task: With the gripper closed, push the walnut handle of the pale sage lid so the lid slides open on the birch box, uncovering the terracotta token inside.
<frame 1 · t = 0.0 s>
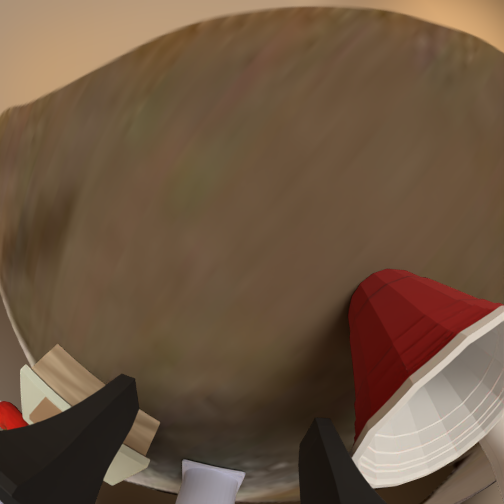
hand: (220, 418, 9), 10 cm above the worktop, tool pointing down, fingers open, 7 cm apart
storage box: (93, 408, 25), on the worktop
pouch: (502, 383, 20), on the worktop
lid: (66, 447, 18), point 7 cm above the worktop, slide at 0.0 cm
tomato: (21, 415, 32), on the worktop
plastic cup: (386, 303, 18), on the worktop
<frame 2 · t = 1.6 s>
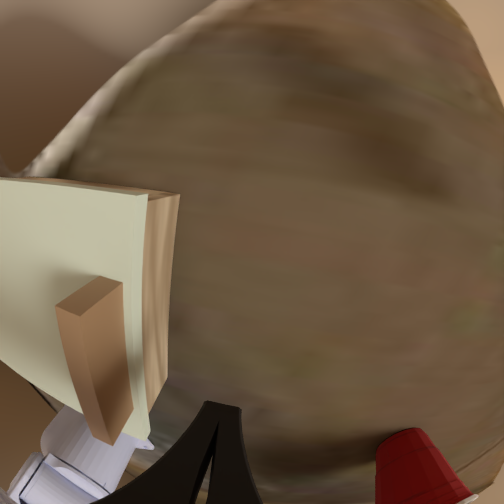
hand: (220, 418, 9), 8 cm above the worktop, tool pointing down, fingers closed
storage box: (86, 277, 17), on the worktop
lid: (19, 321, 10), point 7 cm above the worktop, slide at 0.0 cm
plastic cup: (400, 442, 20), on the worktop
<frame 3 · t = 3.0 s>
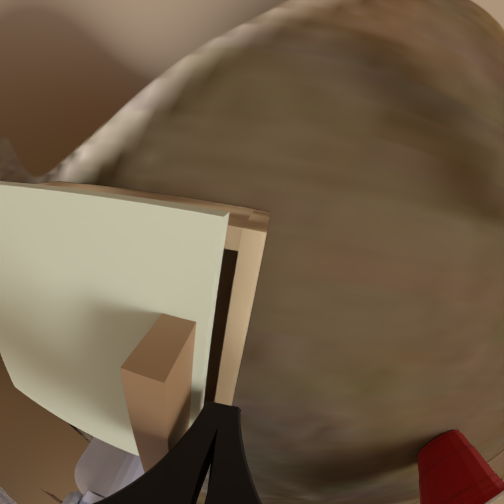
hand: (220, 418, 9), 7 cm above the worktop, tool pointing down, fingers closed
storage box: (137, 303, 16), on the worktop
lid: (44, 359, 9), point 7 cm above the worktop, slide at 1.8 cm, touching gripper
plastic cup: (438, 444, 19), on the worktop
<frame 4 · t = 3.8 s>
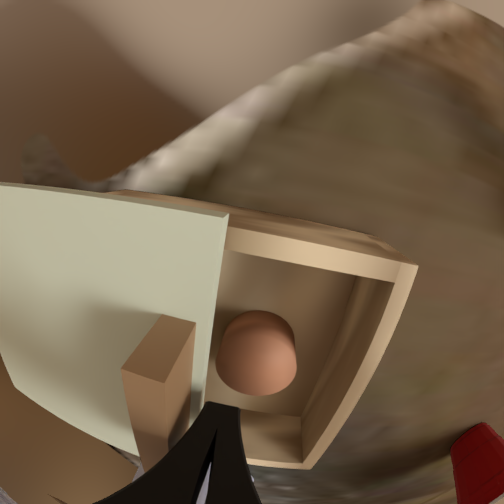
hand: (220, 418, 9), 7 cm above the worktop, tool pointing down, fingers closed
storage box: (226, 326, 16), on the worktop
lid: (44, 359, 9), point 7 cm above the worktop, slide at 7.6 cm, touching gripper
plastic cup: (468, 437, 19), on the worktop
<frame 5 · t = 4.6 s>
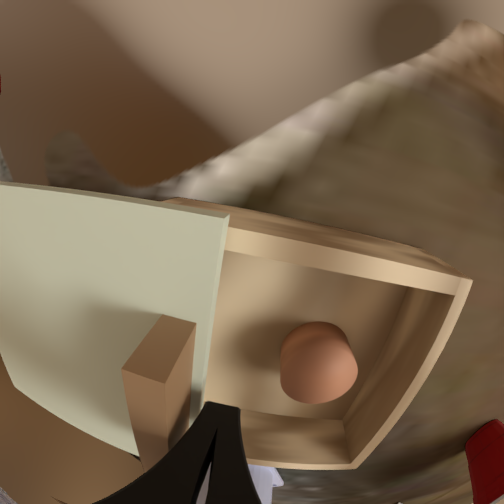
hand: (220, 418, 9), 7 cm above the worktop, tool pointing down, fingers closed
storage box: (281, 337, 16), on the worktop
lid: (44, 359, 9), point 7 cm above the worktop, slide at 10.9 cm, touching gripper
plastic cup: (481, 433, 19), on the worktop
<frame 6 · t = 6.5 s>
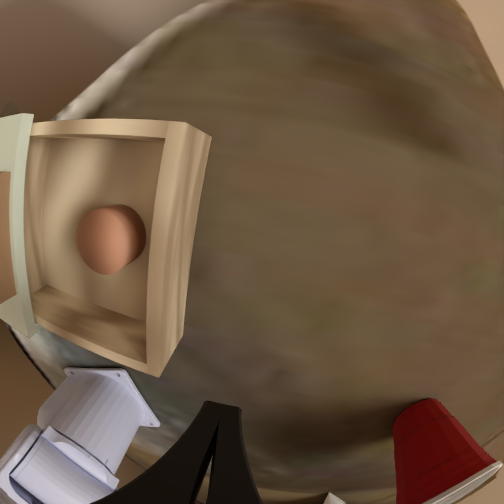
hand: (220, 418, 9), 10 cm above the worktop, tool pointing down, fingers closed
storage box: (104, 226, 18), on the worktop
plastic cup: (416, 416, 21), on the worktop
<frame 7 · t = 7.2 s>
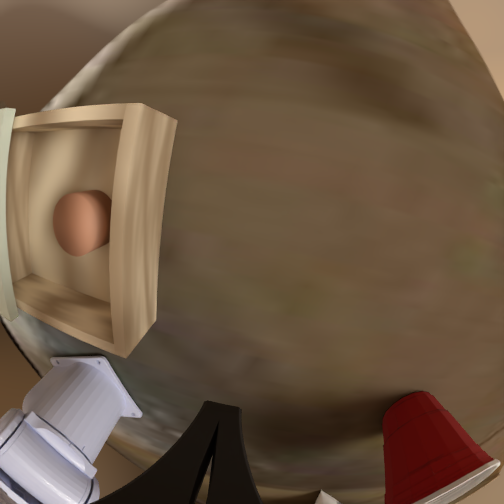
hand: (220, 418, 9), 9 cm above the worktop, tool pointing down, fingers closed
storage box: (81, 212, 17), on the worktop
pouch: (336, 503, 28), on the worktop
plastic cup: (407, 410, 20), on the worktop
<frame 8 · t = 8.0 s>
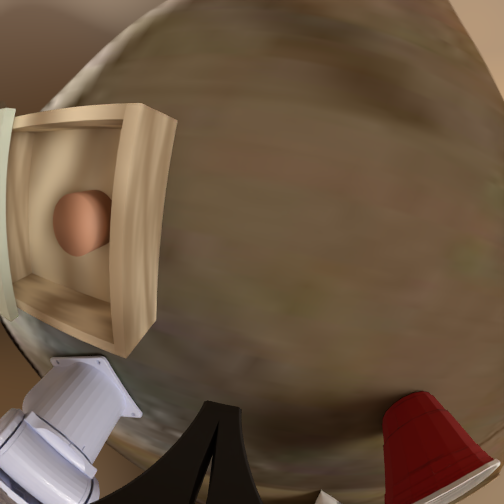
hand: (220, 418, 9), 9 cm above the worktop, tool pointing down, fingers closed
storage box: (81, 212, 17), on the worktop
pouch: (336, 503, 28), on the worktop
plastic cup: (407, 410, 20), on the worktop
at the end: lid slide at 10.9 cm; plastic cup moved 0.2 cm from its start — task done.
